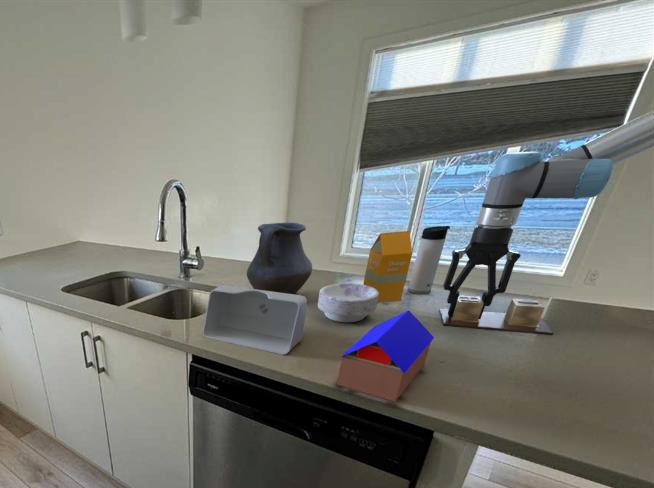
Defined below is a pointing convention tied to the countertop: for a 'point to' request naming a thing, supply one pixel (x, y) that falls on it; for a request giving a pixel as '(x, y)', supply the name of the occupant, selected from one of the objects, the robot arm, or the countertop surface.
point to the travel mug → (427, 259)
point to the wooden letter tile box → (524, 312)
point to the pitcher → (280, 259)
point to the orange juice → (389, 265)
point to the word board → (495, 323)
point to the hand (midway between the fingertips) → (463, 315)
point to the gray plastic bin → (255, 318)
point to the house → (386, 357)
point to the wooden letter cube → (468, 308)
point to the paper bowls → (347, 301)
